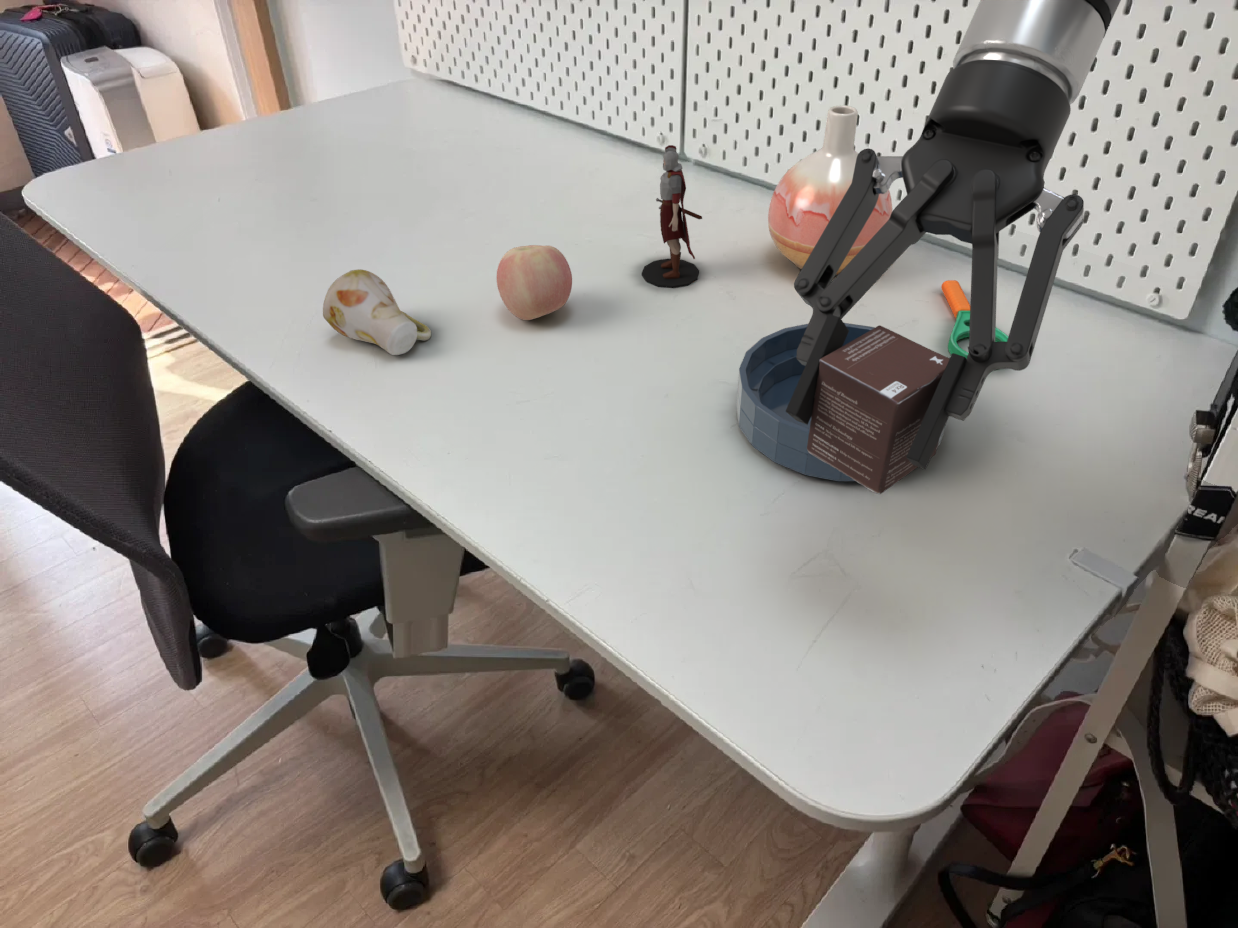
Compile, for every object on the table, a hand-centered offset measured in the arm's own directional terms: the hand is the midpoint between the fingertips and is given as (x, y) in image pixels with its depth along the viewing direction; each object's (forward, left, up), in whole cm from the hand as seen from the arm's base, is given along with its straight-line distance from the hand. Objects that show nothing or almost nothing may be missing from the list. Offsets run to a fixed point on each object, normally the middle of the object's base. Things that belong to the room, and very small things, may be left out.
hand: (854, 439), depth 56 cm
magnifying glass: (+6, -44, -17) cm, 48 cm away
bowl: (+10, -22, -17) cm, 29 cm away
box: (0, -3, -4) cm, 5 cm away
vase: (+25, -49, -17) cm, 58 cm away
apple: (+45, -21, -17) cm, 52 cm away
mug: (+55, -8, -17) cm, 58 cm away
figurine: (+38, -37, -17) cm, 56 cm away
